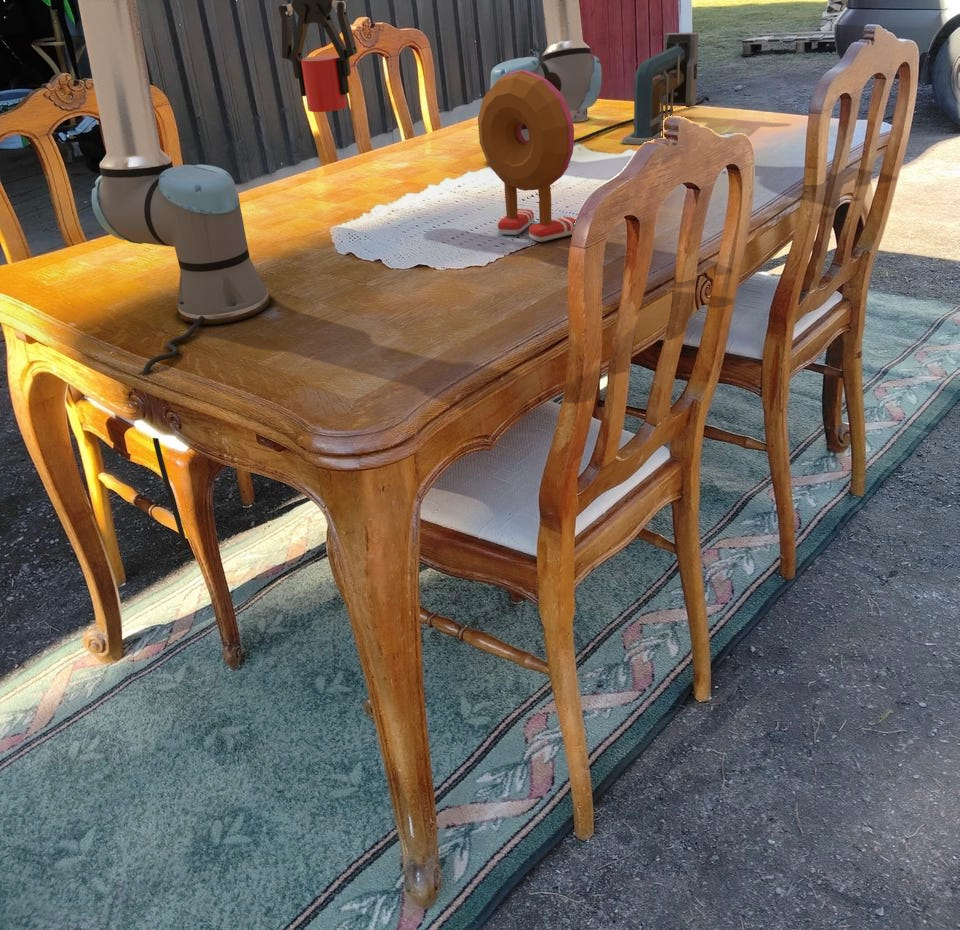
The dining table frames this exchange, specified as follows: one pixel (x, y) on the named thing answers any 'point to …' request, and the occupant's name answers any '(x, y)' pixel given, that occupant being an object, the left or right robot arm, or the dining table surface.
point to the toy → (528, 147)
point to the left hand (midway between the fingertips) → (325, 94)
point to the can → (322, 83)
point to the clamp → (664, 85)
